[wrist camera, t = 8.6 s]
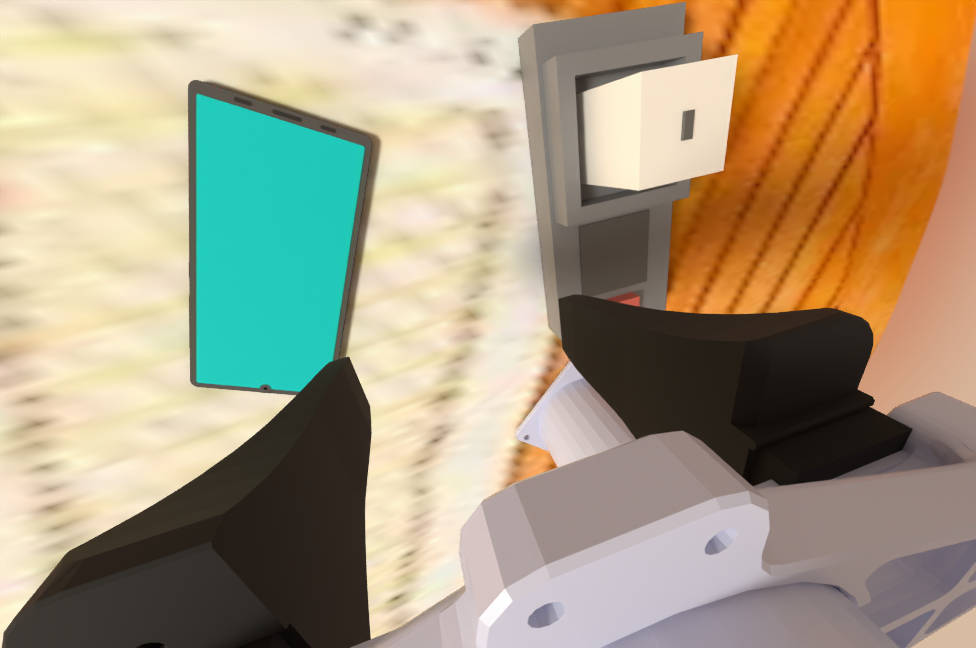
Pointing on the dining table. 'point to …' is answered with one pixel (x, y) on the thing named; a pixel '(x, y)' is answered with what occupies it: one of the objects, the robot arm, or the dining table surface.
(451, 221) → the dining table surface
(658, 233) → the power strip
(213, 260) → the smartphone
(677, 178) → the block
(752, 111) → the dining table surface
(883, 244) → the dining table surface
